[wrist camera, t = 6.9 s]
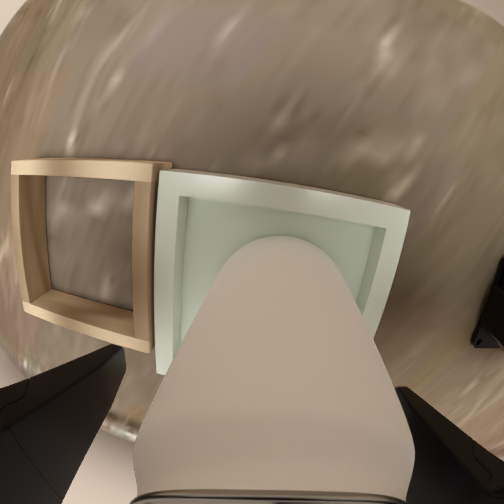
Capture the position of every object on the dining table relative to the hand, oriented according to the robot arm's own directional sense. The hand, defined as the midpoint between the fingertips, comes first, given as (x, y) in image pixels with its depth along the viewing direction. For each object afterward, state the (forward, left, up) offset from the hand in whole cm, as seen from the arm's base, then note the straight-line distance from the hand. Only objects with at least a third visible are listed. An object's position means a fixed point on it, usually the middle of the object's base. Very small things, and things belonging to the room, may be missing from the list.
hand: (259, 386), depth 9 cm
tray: (0, 0, -7) cm, 7 cm away
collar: (+10, -1, -7) cm, 13 cm away
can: (-1, 0, -7) cm, 7 cm away
